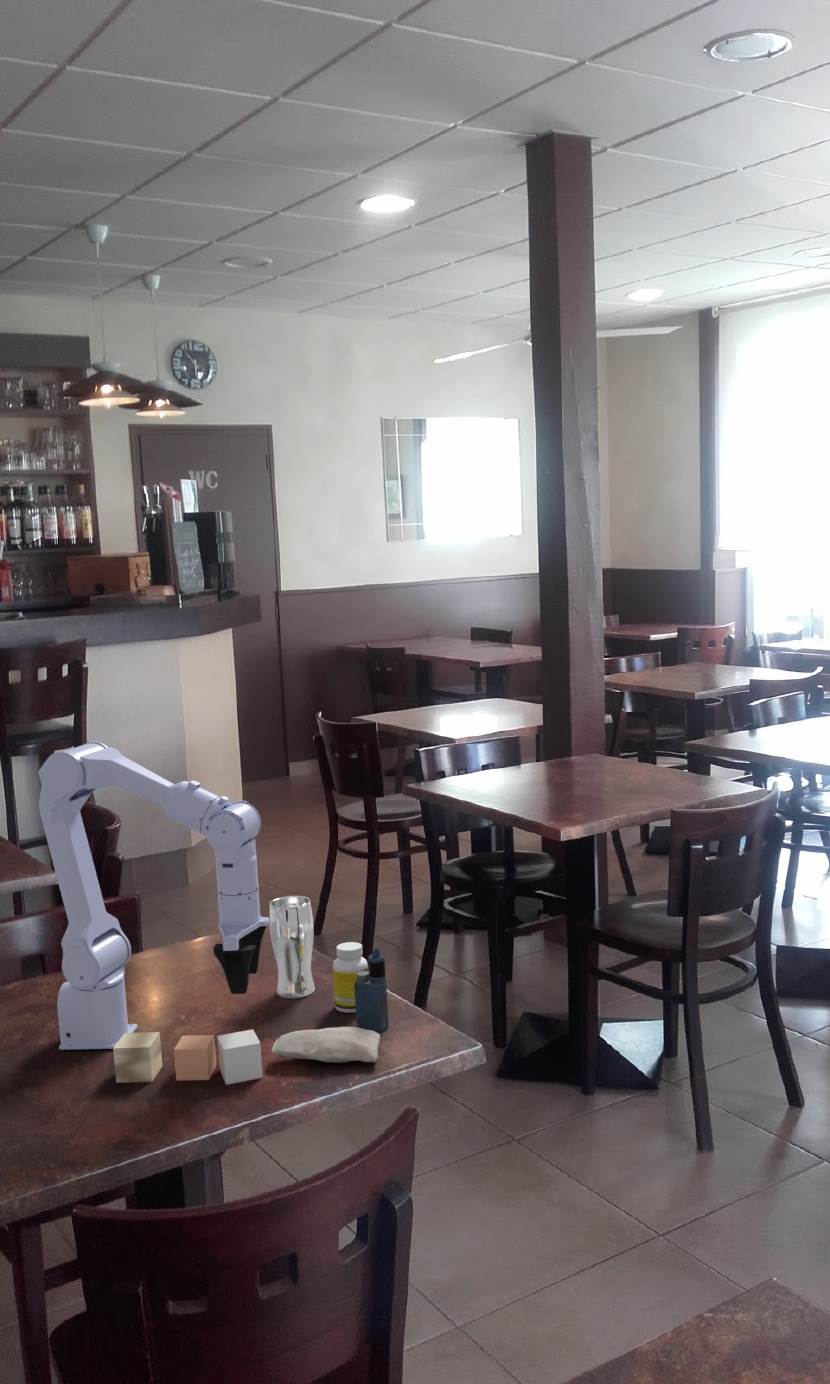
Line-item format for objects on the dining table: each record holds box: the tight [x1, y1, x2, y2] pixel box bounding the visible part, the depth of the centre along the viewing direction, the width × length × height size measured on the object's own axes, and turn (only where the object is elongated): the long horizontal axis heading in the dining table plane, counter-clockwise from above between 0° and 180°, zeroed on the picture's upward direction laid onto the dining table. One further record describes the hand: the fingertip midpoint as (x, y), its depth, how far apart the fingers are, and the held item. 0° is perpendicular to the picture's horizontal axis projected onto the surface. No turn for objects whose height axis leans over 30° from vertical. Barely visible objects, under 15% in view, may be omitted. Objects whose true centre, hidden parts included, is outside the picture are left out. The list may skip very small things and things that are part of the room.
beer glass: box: [269, 895, 316, 999], centre depth 190 cm, size 7×7×15 cm
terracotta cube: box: [173, 1034, 217, 1081], centre depth 163 cm, size 4×4×4 cm
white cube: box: [216, 1028, 264, 1085], centre depth 162 cm, size 5×5×5 cm
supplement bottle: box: [332, 941, 369, 1014], centre depth 183 cm, size 5×5×10 cm
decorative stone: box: [271, 1026, 381, 1064], centre depth 166 cm, size 10×4×15 cm
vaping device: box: [354, 948, 389, 1033], centre depth 174 cm, size 3×5×12 cm, turn 58°
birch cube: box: [113, 1031, 163, 1084], centre depth 163 cm, size 5×5×5 cm
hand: (244, 983), depth 168 cm, fingers open, 7 cm apart
